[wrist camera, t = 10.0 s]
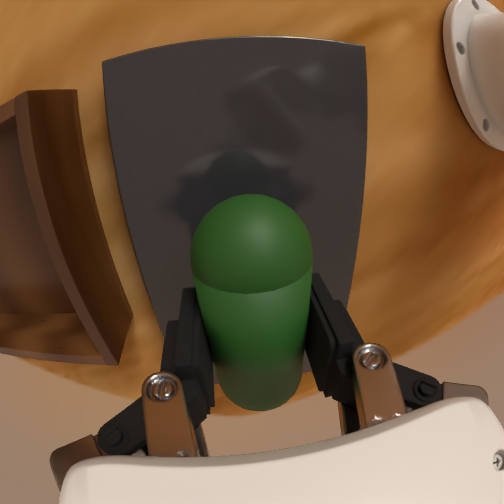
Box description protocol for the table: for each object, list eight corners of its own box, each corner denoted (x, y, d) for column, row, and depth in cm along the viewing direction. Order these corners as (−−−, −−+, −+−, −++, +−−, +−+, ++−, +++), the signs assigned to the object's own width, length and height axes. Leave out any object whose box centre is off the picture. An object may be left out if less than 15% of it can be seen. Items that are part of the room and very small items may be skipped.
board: (352, 49, 11) (365, 45, 9) (327, 353, 22) (332, 367, 20) (112, 64, 10) (101, 61, 8) (185, 371, 21) (184, 385, 20)
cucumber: (295, 176, 10) (337, 217, 7) (290, 358, 15) (306, 416, 12) (187, 186, 10) (171, 233, 6) (221, 367, 15) (225, 428, 11)
